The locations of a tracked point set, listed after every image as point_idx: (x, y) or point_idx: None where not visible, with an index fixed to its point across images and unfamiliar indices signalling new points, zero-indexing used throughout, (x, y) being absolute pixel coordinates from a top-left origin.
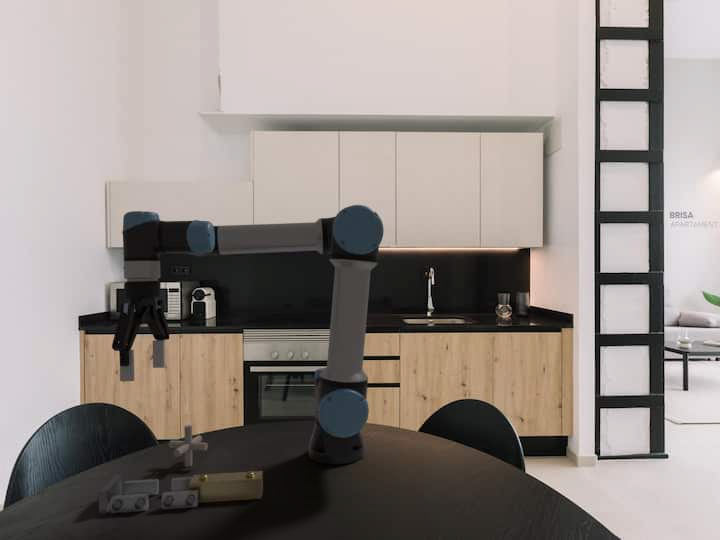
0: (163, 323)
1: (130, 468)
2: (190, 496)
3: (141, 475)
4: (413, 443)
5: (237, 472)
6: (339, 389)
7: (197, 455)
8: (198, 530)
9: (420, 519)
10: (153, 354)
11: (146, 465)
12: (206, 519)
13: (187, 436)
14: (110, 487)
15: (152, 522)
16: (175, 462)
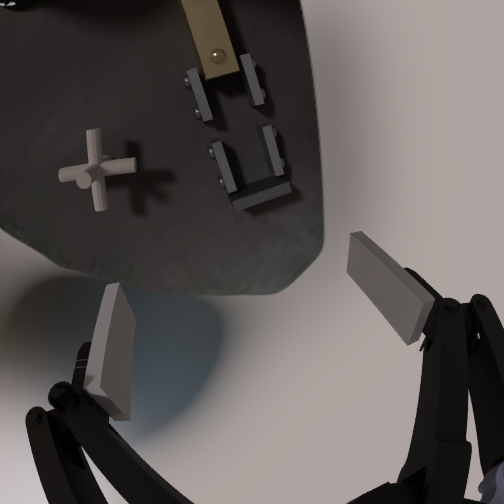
0: (74, 490)
1: (145, 247)
2: (253, 61)
3: (161, 211)
4: None
5: (185, 13)
6: None
7: None
8: (300, 32)
9: None
10: (130, 360)
11: (127, 231)
12: (274, 31)
13: (96, 171)
14: (276, 185)
15: (291, 97)
16: None
